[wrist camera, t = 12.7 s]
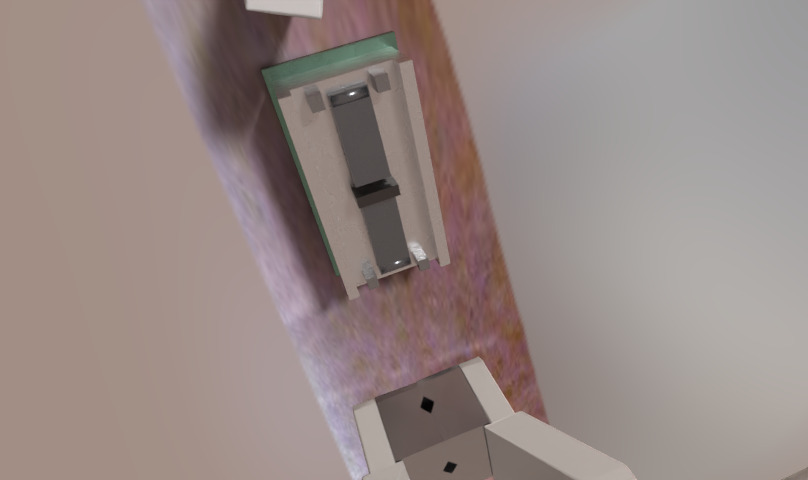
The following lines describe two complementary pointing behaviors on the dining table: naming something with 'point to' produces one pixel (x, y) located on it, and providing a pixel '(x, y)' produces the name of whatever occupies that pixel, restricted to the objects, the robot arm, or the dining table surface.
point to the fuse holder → (327, 165)
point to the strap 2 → (387, 235)
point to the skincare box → (287, 7)
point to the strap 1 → (359, 134)
